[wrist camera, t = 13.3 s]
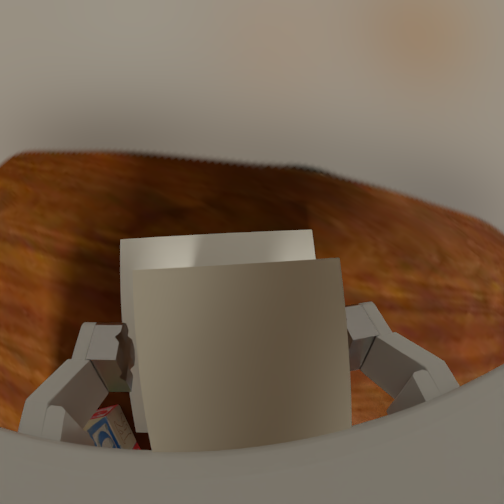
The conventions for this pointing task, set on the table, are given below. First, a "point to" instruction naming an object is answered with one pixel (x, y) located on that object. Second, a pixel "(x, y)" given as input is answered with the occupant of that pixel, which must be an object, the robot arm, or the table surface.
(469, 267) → the table surface
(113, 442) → the stack of blocks
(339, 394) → the brown tall block
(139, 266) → the plate
